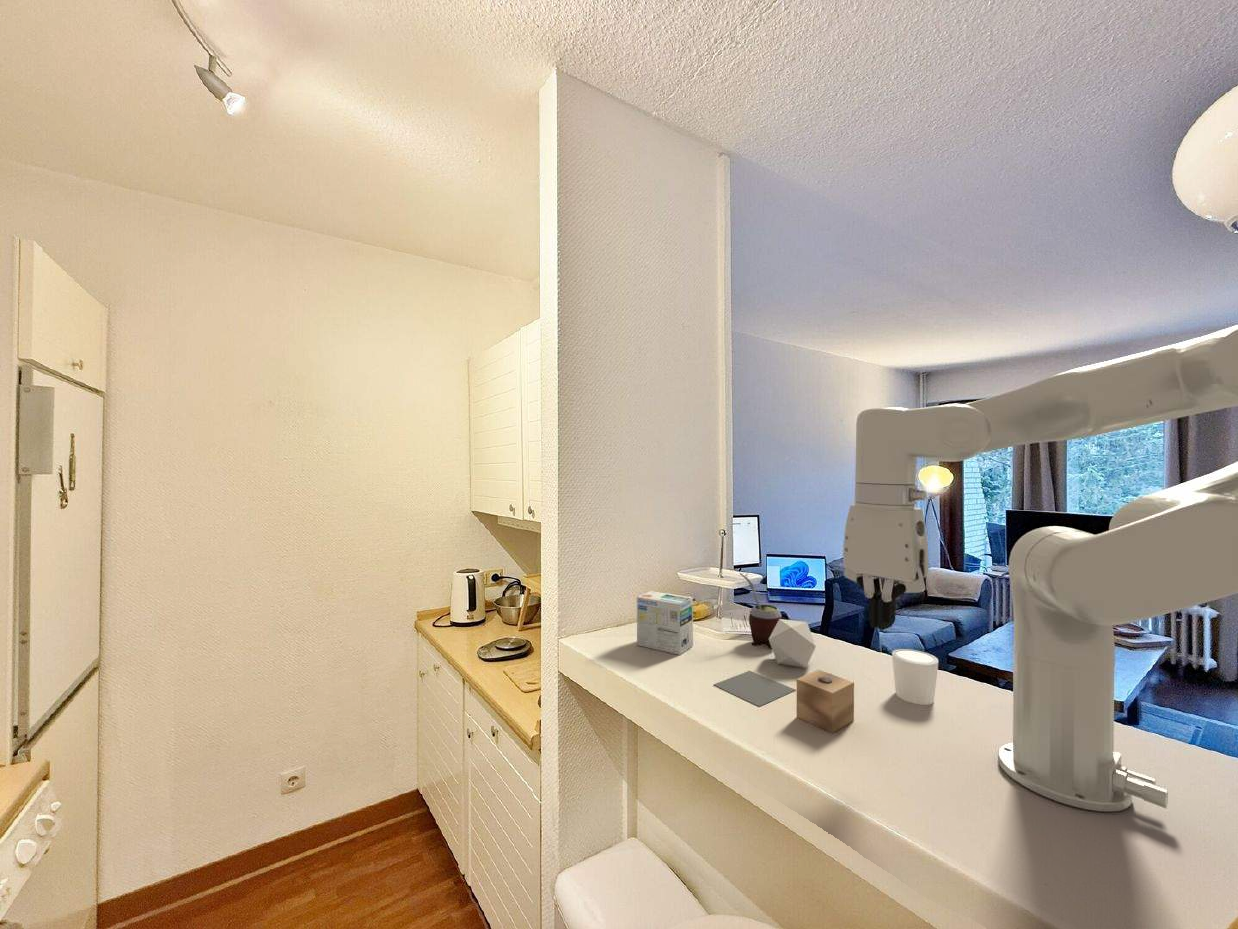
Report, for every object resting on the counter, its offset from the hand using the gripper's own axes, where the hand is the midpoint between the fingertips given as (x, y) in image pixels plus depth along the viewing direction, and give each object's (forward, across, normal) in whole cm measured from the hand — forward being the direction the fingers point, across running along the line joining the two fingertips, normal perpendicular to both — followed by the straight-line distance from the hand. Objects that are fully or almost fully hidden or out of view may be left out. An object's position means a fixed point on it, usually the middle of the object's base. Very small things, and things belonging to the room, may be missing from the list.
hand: (881, 626), depth 71 cm
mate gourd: (+17, +34, -19) cm, 43 cm away
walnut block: (+17, +8, 0) cm, 19 cm away
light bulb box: (+18, +46, -1) cm, 50 cm away
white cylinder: (+17, +3, -19) cm, 26 cm away
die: (+17, +24, -15) cm, 33 cm away
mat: (+17, +22, 0) cm, 28 cm away
